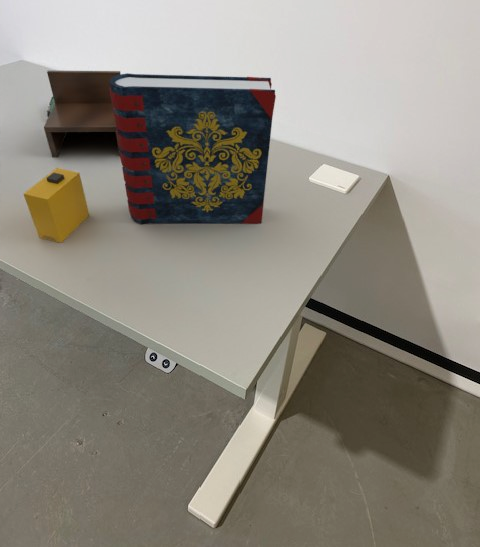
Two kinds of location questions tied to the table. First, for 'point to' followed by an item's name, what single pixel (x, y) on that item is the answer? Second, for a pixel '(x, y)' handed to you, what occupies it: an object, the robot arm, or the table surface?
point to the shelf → (79, 105)
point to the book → (193, 146)
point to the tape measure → (57, 204)
